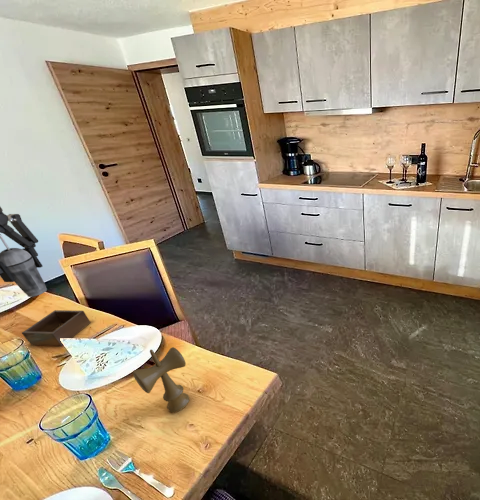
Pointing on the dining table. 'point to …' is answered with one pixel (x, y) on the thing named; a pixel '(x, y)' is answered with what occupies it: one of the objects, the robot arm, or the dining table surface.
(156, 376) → the kendama
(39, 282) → the beverage cup
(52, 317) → the crate
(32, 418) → the dining table surface
